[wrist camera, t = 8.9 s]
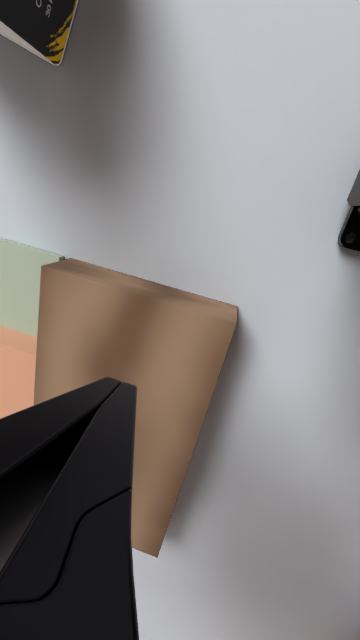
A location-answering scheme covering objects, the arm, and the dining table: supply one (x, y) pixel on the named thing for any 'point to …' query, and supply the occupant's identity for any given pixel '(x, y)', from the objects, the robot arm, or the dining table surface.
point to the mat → (21, 284)
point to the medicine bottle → (38, 25)
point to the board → (136, 368)
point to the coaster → (16, 370)
